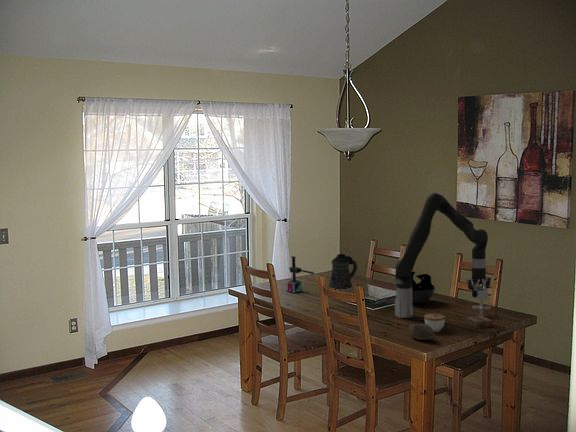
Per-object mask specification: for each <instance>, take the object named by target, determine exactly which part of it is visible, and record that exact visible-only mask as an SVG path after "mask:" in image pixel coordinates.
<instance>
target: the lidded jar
mask: <svg viewBox="0 0 576 432" xmlns="http://www.w3.org/2000/svg"><path fill="white" fill-rule="evenodd" d="M445 319H446V316H445V315H444V314H441V313H436V312H433V313H426V314H425V315H424V324H427V325H429V326H430V327H431V328H432V330H433V332H434V333H436V332H437V333H438V332H441V330H442V329H443V328H444V326H445V323H446V322H445Z"/></svg>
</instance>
